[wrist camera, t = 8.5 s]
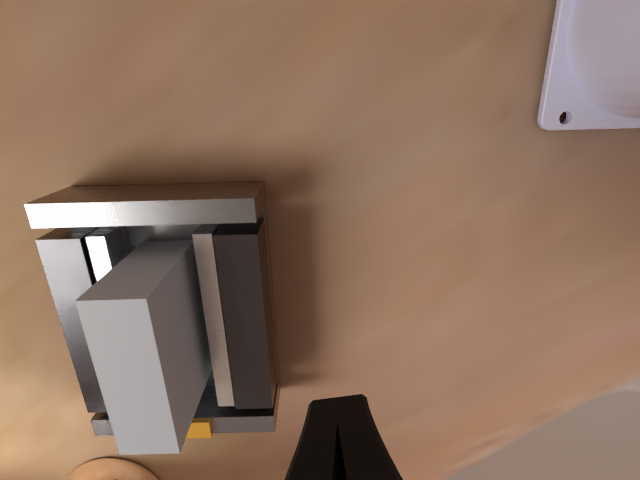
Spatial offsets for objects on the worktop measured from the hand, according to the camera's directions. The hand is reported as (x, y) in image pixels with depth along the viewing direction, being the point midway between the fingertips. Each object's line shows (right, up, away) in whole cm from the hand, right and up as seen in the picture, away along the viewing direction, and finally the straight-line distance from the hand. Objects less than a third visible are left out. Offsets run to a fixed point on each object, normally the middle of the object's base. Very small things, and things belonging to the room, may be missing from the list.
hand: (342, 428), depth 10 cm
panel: (-7, +1, +10) cm, 12 cm away
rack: (-7, +2, +11) cm, 13 cm away
